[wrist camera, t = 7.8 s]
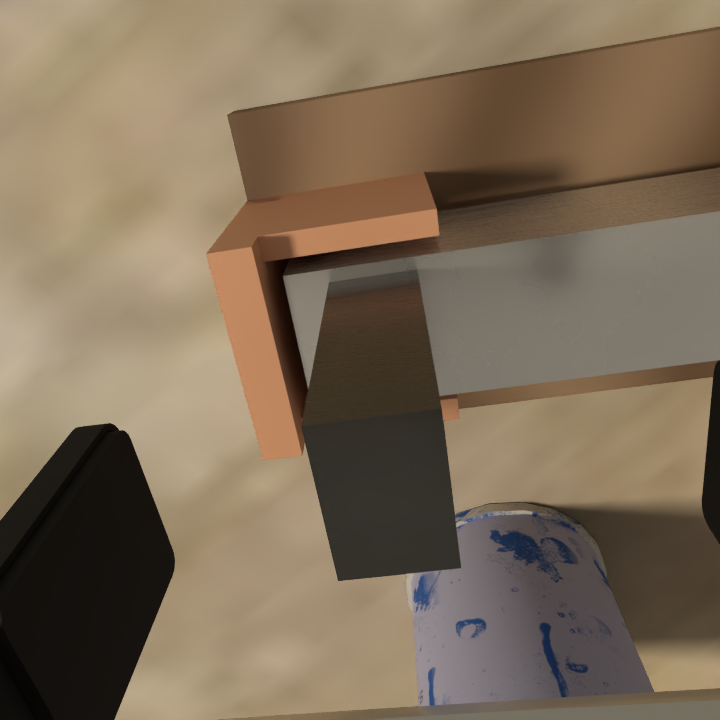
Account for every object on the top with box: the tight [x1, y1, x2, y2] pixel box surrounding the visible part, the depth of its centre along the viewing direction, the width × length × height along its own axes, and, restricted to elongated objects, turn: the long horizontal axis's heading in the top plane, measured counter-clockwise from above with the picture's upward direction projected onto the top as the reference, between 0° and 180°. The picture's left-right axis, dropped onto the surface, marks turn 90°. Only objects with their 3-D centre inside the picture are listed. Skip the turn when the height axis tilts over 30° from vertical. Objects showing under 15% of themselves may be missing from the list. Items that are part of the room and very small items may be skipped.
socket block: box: [206, 172, 459, 460], centre depth 17 cm, size 5×5×5 cm
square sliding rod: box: [283, 168, 720, 581], centre depth 14 cm, size 16×4×10 cm, turn 99°
